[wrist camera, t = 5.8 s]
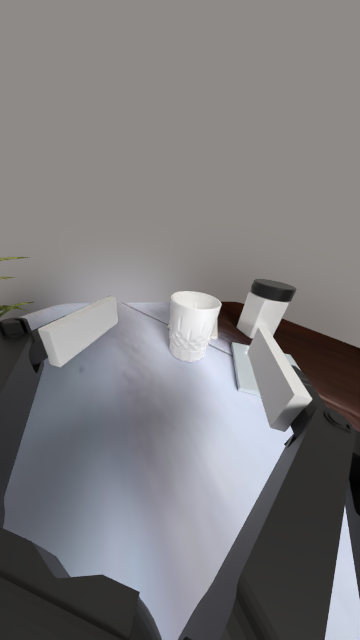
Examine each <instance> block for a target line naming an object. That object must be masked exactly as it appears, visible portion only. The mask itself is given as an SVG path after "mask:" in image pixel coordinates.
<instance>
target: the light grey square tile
mask: <svg viewBox="0 0 360 640" xmlns="http://www.w3.org/2000/svg"><path fill="white" fill-rule="evenodd" d="M231 347H232V354H233V360H234V367H235V373H236V380H237V386H238V391H240V392H244V393H248V394H251V395H255V396H259V397H261V396H260V392H259V389H258V386H257V383H256V379H255V376H254V373H253V369H252V366H251V363H250V359H249V356H248V353H247V352H248V349H249V347H250V346H247V345H242V344H238V343H233V342H232V345H231ZM283 354H284V353H283ZM284 355H285V357H286V358H287V360H288V362H289V363H290V365H294V366H296V367H297V368H298V369H299V367H298V366H297V364H296V363H295V361H294V360H293V358H292V357H291V355H288V354H284Z"/></svg>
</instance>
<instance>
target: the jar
mask: <svg viewBox="0 0 360 640" xmlns="http://www.w3.org/2000/svg"><path fill="white" fill-rule="evenodd" d="M295 292H296V288H295V287H293V286H291V285H288V284H284V283H281V282H276V281H271V280H265V279H256V280H254V282H253V284H252V287H251V292H249V293H248V296H247V299H246V302H245V305H244V307H243V310H242V313H241V316H240V319H239V322H238V325H237V328H238V329H239V330H240V331H241V332H243V333H244V334H245V335H246V336H248V337H249V338H252V339H253V338H254V336H255V333H256V331H257V329H258V327H261V328H266V329H268V330H269V332H270V333H271V335H272V336H273V335H274V333H275V331H276V329H277V327H278V325H279V323H280V321H281V319H282V317H283V314H284V312H285V310H286V308H287V306H288V304H289V302H290V301H291V300H292V297H293V295H294V293H295Z"/></svg>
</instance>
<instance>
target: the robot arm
mask: <svg viewBox="0 0 360 640" xmlns="http://www.w3.org/2000/svg"><path fill="white" fill-rule="evenodd" d="M117 323H118V313H117V298H116V297H113V296H107V297H105V298H103V299H101V300H99V301H97V302H95V303H92V304H90V305H88V306H86V307H84V308H82V309H80V310H77V311H75V312H73V313H71V314H69V315H67V316H63V317H61V318H59V319H57V320H54V321H52V322H51V323H48V324H46V325H44V326H41V327H39V328H37V329H35V330H33V331H31V329H30V326H29V324H28V321H27V319H25V318H10V319H6V320H2V321H0V640H162V638H161V635H160V633H159V631H158V628H157V626H156V623H155V621H154V619H153V617H152V615H151V614H150V612H149V610H148V608H147V607H146V605H145V604H144V603H143V601H142V600H141V599H140V598H139V592H138V591H136V590H134V589H132V588H130V587H128V586H125V585H123V584H121V583H119V582H117V581H115V580H113V579H110V578H108V577H106V576H104V575H93V576H81V577H70V576H69V574H68V573H67V572H66V570H65V569H64V567H63V566H62V564H61V563H60V561H59V560H58V559H57V557H56V556H54V555H53V554H51V553H49V552H48V551H46V550H44V549H43V548H41V547H39V546H38V545H36V544H35V543H33V542H31V541H29V540H27V539H25V538H22V537H20V536H18V535H16V534H14V533H12V532H10V531H7V530H5V529H3V524H4V516H5V510H4V496H5V492H6V488H7V485H8V482H9V479H10V475H11V472H12V469H13V465H14V462H15V459H16V456H17V452H18V449H19V446H20V442H21V439H22V436H23V433H24V429H25V426H26V423H27V419H28V416H29V413H30V410H31V406H32V403H33V400H34V397H35V393H36V390H37V387H38V383H39V380H40V377H41V374H42V370H43V367H44V362H43V360H45V359H46V358H48V359H49V362H50V365H54V366H57V367H62V366H63V365H64V364H65V363H67V362H68V361H69V360H71V359H72V358H73V357H74V356H76V355H77V354H78V353H79V352H81V351H82V350H83V349H85V348H86V347H87V346H88V345H90V344H91V343H92V342H94V341H95V340H96V339H97V338H99V337H100V336H101V335H103V334H104V333H105V332H106V331H108V330H109V329H110V328H111V327H113V326H114V325H115V324H117ZM247 353H248V356H249V359H250V363H251V366H252V369H253V373H254V376H255V379H256V383H257V386H258V389H259V392H260V396H261V399H262V402H263V406H264V409H265V412H266V416H267V419H268V422H269V425H270V428H273V429H277V430H280V431H284V432H285V431H286V430H287V429H288V428H289V426H291V428H292V430H293V433H294V434H293V435H292V436H291V437H290V438H289V439H288V441H287V442H286V443H285V444H284V445H285V446H286V447H285V449H284V450H283V452H282V454H281V456H280V458H279V460H278V462H277V463H276V465H275V467H274V469H273V471H272V473H271V475H270V477H269V478H268V480H267V482H266V484H265V486H264V488H263V490H262V491H261V493H260V495H259V497H258V499H257V501H256V503H255V504H254V506H253V508H252V510H251V512H250V514H249V516H248V517H247V519H246V521H245V523H244V525H243V527H242V529H241V531H240V532H239V534H238V536H237V538H236V540H235V542H234V544H233V545H232V547H231V549H230V551H229V553H228V555H227V557H226V558H225V560H224V562H223V564H222V566H221V568H220V570H219V572H218V573H217V575H216V577H215V579H214V581H213V583H212V584H211V586H210V588H209V589H208V591H207V592H206V594H205V595H204V596H203V598H202V599H201V600H200V602H199V603H198V605H197V607H196V608H195V610H194V612H193V613H192V615H191V617H190V619H189V620H188V622H187V624H186V626H185V628H184V629H183V631H182V633H181V635H180V637H179V639H178V640H325V633H326V627H327V620H328V613H329V607H330V600H331V593H332V587H333V580H334V573H335V567H336V560H337V553H338V547H339V540H340V533H341V527H342V520H343V513H344V507H346V514H347V520H348V527H349V533H350V539H351V546H352V552H353V559H354V565H355V572H356V578H357V585H358V591H359V597H360V432H358V431H356V430H354V428H353V427H352V425H351V424H350V423H349V422H348V421H347V420H346V419H345V417H343V416H342V415H341V414H339V413H338V412H336V411H334V410H333V409H331V408H328V407H327V406H326V405H325V404H324V402H323V401H322V399H321V398H320V396H319V395H318V393H317V392H316V391H315V389H314V388H313V386H311V383H310V382H309V381H308V379H307V378H306V376H305V375H304V373H303V372H302V371H301V370H300V369H298V368H297V367H296V366H294V365H290V363H289V362H288V360H287V358H286V357H285V355H284V354H283V352H282V351H281V349H280V347H279V346H278V344H277V343H276V341H275V340H274V338H273V336H272V335H271V333H270V332H269V330H268V329H266V328H261V327H258V329H257V331H256V333H255V336H254V338H253V340H252V343H251V345H250V347H249V349H248V352H247ZM137 602H138V603H137ZM135 611H136V612H135ZM133 620H134V621H133Z"/></svg>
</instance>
